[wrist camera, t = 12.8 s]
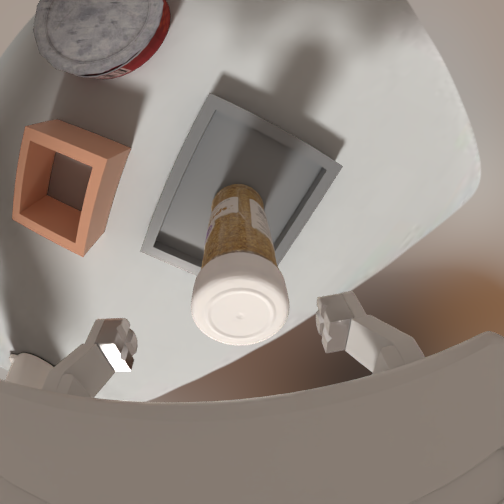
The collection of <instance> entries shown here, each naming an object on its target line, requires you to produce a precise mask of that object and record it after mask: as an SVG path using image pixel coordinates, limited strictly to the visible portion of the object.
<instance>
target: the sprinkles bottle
mask: <svg viewBox="0 0 504 504" xmlns="http://www.w3.org/2000/svg"><path fill="white" fill-rule="evenodd" d="M211 212H212V213H211V216H210V219H209V224H208V230H207V235H206V241H205V245H204V256H203V261H202V267H201V270H200V272H199V273H198V275H197V277H196V280H195V284H194V288H193V294H192V301H191V312H192V317H193V319H194V321H195V323H196V325H197V326H198V328H199V329H200V330H201V331H202V332H203V333H204V334H205V335H207V336H209V337H210V338H212V339H214V340H216V341H218V342H221V343H225V344H230V345H249V344H254V343H258V342H261V341H264V340H266V339H268V338H270V337H271V336H273V335H274V334H275V333H277V332H278V331H279V330H280V329H281V328H282V326H283V325H284V323H285V322H286V320H287V317H288V314H289V298H288V293H287V289H286V284H285V280H284V278H283V275H282V273H281V272H280V270H279V268H278V267H277V263H276V258H275V249H274V246H273V242H272V238H271V234H270V230H269V226H268V222H267V218H266V215H265V212H264V206H263V201H262V199H261V197H260V195H259V194H258V193H257V192H256V191H255V190H254V189H253V188H251V187H248V186H246V185H244V184H233V185H230V186H227V187H224V188H223V189H221V190H220V191H219V192H218V193H217V194H216V196H215V197H214V199H213V201H212V206H211Z"/></svg>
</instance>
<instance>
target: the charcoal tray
mask: <svg viewBox="0 0 504 504" xmlns="http://www.w3.org/2000/svg"><path fill="white" fill-rule="evenodd" d="M342 167H343V166H342V165H340V164H339V163H337V162H336V161H334V160H333V159H331V158H330V157H328V156H326V155H325V154H323V153H322V152H320V151H318V150H317V149H315V148H314V147H312V146H310V145H309V144H307V143H305V142H304V141H302V140H300V139H299V138H297V137H295V136H293V135H292V134H290V133H288V132H286V131H285V130H283V129H281V128H279V127H278V126H276V125H274V124H272V123H270V122H268V121H266V120H265V119H263V118H261V117H259V116H257V115H255V114H253V113H251V112H249V111H247V110H245V109H243V108H241V107H239V106H237V105H235V104H233V103H231V102H228V101H226V100H224V99H222V98H220V97H218V96H215V95H213V94H211V93H210V94H209V95H208V97H207V99H206V101H205V103H204V105H203V107H202V108H201V110H200V112H199V114H198V116H197V118H196V120H195V122H194V124H193V126H192V128H191V130H190V132H189V134H188V136H187V138H186V140H185V142H184V144H183V147H182V149H181V151H180V153H179V155H178V157H177V159H176V162H175V164H174V166H173V168H172V171H171V173H170V175H169V178H168V180H167V182H166V185H165V187H164V189H163V192H162V194H161V197H160V199H159V202H158V204H157V207H156V209H155V212H154V214H153V217H152V220H151V222H150V225H149V228H148V230H147V233H146V236H145V239H144V242H143V244H142V247H141V250H140V251H141V252H143V253H145V254H147V255H150V256H152V257H154V258H157V259H159V260H161V261H163V262H166V263H168V264H170V265H173V266H175V267H177V268H180V269H182V270H185V271H187V272H189V273H192V274H194V275H198V273H199V272H200V270H201V267H202V261H203V256H204V245H205V241H206V235H207V230H208V224H209V219H210V216H211V213H212V212H211V206H212V201H213V199H214V197H215V196H216V194H217V193H218V192H219V191H220V190H221V189H223V188H224V187H227V186H230V185H233V184H244V185H246V186H248V187H251V188H253V189H254V190H255V191H256V192H257V193H258V194H259V195H260V197H261V199H262V201H263V206H264V212H265V215H266V218H267V222H268V226H269V230H270V234H271V238H272V242H273V246H274V249H275V258H276V263H277V266H278V265H279V263H280V262H281V260H282V259H283V257H284V256H285V254H286V253H287V251H288V250H289V248H290V247H291V245H292V244H293V242H294V241H295V239H296V238H297V236H298V235H299V233H300V232H301V230H302V229H303V227H304V226H305V224H306V223H307V221H308V220H309V218H310V217H311V215H312V213H313V212H314V210H315V209H316V207H317V206H318V204H319V203H320V201H321V200H322V198H323V197H324V195H325V193H326V192H327V190H328V189H329V187H330V186H331V184H332V182H333V181H334V179H335V178H336V176H337V175H338V173H339V171H340V170H341V168H342Z"/></svg>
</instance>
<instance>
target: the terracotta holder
mask: <svg viewBox="0 0 504 504" xmlns="http://www.w3.org/2000/svg"><path fill="white" fill-rule="evenodd" d="M130 150H131V148H130V147H127V146H125V145H122V144H120V143H118V142H115V141H113V140H110V139H108V138H105V137H103V136H100V135H98V134H95V133H93V132H90V131H87V130H85V129H82V128H80V127H77V126H74V125H72V124H69V123H66V122H64V121H61V120H58V119H55V120H50V121H45V122H41V123H36V124H32V125H28V126H25V130H24V134H23V139H22V144H21V149H20V154H19V160H18V166H17V173H16V180H15V189H14V199H13V213H12V219H13V220H15V221H16V222H18V223H20V224H22V225H23V226H25V227H27V228H29V229H30V230H32V231H34V232H36V233H38V234H40V235H41V236H43V237H45V238H47V239H49V240H51V241H53V242H54V243H56V244H58V245H60V246H62V247H64V248H66V249H68V250H70V251H72V252H74V253H76V254H78V255H80V256H82V257H84V255H85V254H86V253H87V252H88V251H89V249H90V248H91V247H92V246H93V245H94V243H95V242H96V241H97V240H98V239H99V238H100V236H101V235H102V234H103V233H104V232H105V228H106V224H107V221H108V217H109V213H110V210H111V206H112V203H113V200H114V196H115V193H116V190H117V187H118V184H119V181H120V178H121V175H122V172H123V169H124V166H125V163H126V161H127V158H128V155H129V153H130ZM56 152H58V153H61V154H63V155H65V156H68V157H70V158H72V159H75V160H77V161H79V162H82V163H84V164H86V165H89V166H91V167H93V168H92V172H91V175H90V179H89V182H88V186H87V190H86V194H85V198H84V203H83V207H82V211H79V210H77V209H75V208H73V207H71V206H69V205H67V204H65V203H62V202H60V201H58V200H56V199H54V198H52V197H50V196H48V195H47V192H48V186H49V180H50V175H51V170H52V166H53V161H54V157H55V153H56Z"/></svg>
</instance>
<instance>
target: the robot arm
mask: <svg viewBox="0 0 504 504" xmlns="http://www.w3.org/2000/svg"><path fill="white" fill-rule="evenodd" d="M317 307H318V311H317V312H316V324H317V329H318V332H319V334H320V335H322V343H323V346H324V349H325V352H326V353H331V352H336V351H341V350H346V352H348V353H349V354H350V355H351V356H353V357H354V358H355V359H356V360H358V361H359V362H360V363H361V364H363V365H364V366H365V367H366V368H368V369H369V370H370V371H371V372H373V373H372V375H370V376H366V377H363V378H359V379H355V380H351V381H347V382H343V383H339V384H334V385H330V386H325V387H320V388H315V389H310V390H305V391H299V392H293V393H287V394H281V395H273V396H266V397H258V398H249V399H239V400H227V401H211V402H178V403H169V402H168V403H167V402H135V401H120V400H108V399H98V398H94V397H95V396H96V394H97V393H98V392H99V391H100V390H101V388H102V387H103V386H104V385H105V384H106V382H107V381H108V380H109V379H110V378H111V376H112V375H113V374H114V373H115V371H131V369H132V366H133V362H134V359H133V357H132V356H133V355H134V354H135V353H136V351H137V338H136V335H135V333H134V332H133V331H132V330H131V329H129V328H130V323H129V321H128V319H126V318H111V319H97V320H96V321H95V323H94V325H93V327H92V329H91V331H90V333H89V335H88V338H87V340H86V342H85V344H81V345H80V346H79V347H78V348H76V349H75V350H74V351H73V352H72V353H70V354H69V355H68V356H67V357H66V358H64V359H63V360H62V361H61V362H60V363H58V364H57V365H56V366H55V367H53V366H52V365H50V364H49V363H47V362H46V361H44V360H42V359H40V358H38V357H36V356H34V355H31V354H28V353H21V354H19V355H14V354H11V355H10V357H9V360H10V361H11V363H12V365H11V367H10V369H9V372H8V374H7V377H6V379H5V380H2V379H0V504H504V337H503V336H501V335H499V334H496V333H494V332H491V331H487V332H484V333H481V334H479V335H477V336H475V337H473V338H471V339H469V340H467V341H464V342H462V343H460V344H458V345H455V346H453V347H451V348H448V349H446V350H444V351H441V352H439V353H436V354H434V355H431V356H428V357H426V358H425V356H424V355H423V353H422V351H421V350H420V348H419V346H418V345H417V343H416V341H415V340H414V338H413V337H411V336H409V335H407V334H405V333H403V332H401V331H399V330H398V329H396V328H394V327H392V326H390V325H388V324H386V323H385V322H383V321H381V320H379V319H377V318H375V317H373V316H371V315H366V313H365V311H364V310H363V308H362V306H361V304H360V303H359V301H358V299H357V297H356V296H355V294H354V293H353V292H352V291H348V292H343V293H339V294H334V295H328V296H322V297H318V298H317Z"/></svg>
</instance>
